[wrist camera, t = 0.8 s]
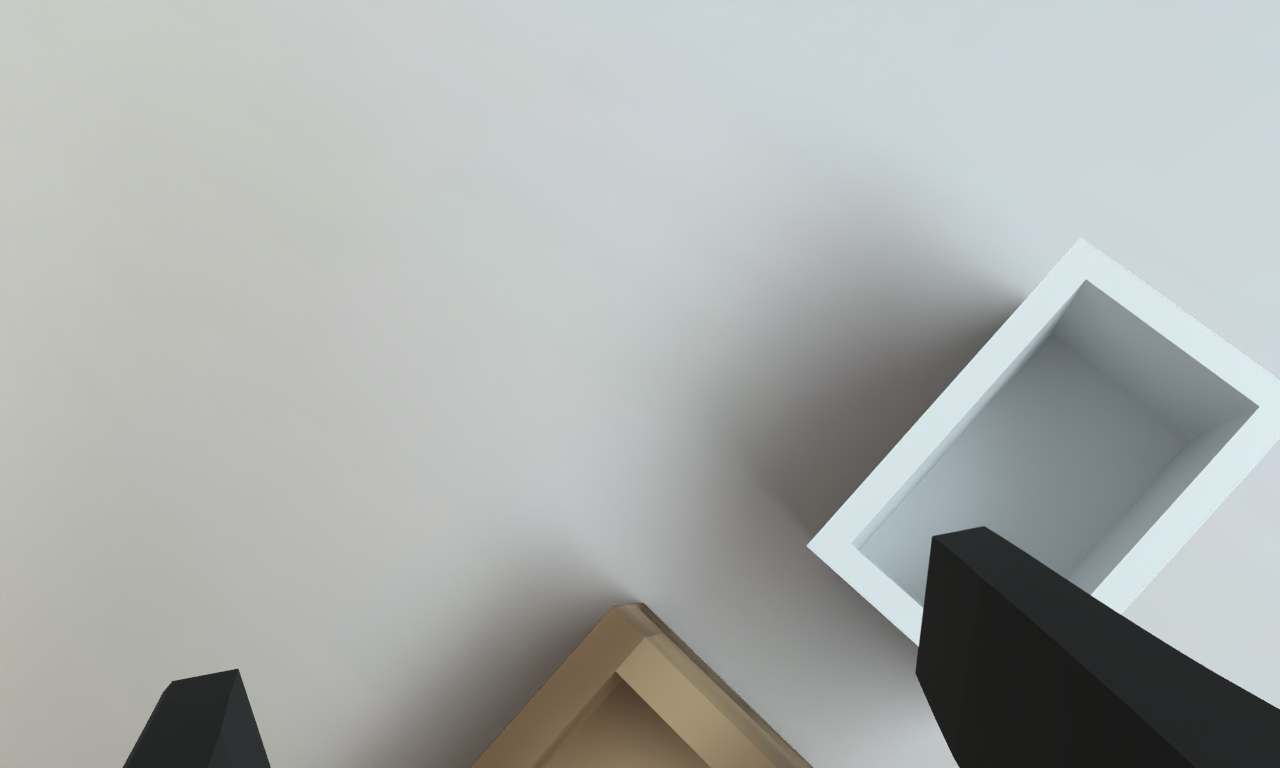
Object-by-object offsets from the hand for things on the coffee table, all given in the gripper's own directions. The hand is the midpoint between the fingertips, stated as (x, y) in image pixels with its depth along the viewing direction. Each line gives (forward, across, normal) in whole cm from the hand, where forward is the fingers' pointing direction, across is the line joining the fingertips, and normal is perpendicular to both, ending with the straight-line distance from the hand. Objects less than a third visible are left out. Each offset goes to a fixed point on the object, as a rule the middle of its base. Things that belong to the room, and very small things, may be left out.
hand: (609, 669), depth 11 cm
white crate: (+10, -12, +8) cm, 17 cm away
